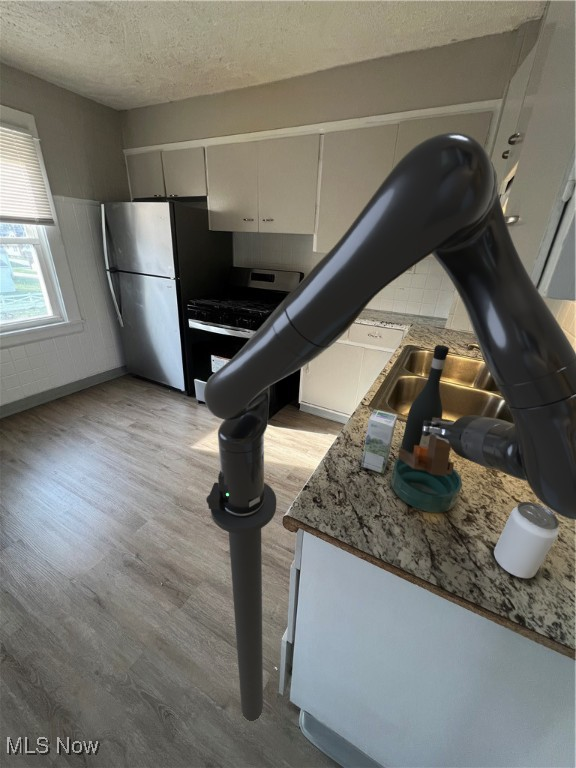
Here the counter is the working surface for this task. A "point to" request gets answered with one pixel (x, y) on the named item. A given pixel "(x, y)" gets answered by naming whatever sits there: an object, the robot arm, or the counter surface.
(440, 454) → the brown wooden holder
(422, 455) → the block
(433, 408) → the wine bottle
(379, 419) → the syrup box
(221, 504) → the robot arm
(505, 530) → the can
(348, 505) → the counter surface
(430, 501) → the teal pet bowl
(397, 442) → the counter surface
